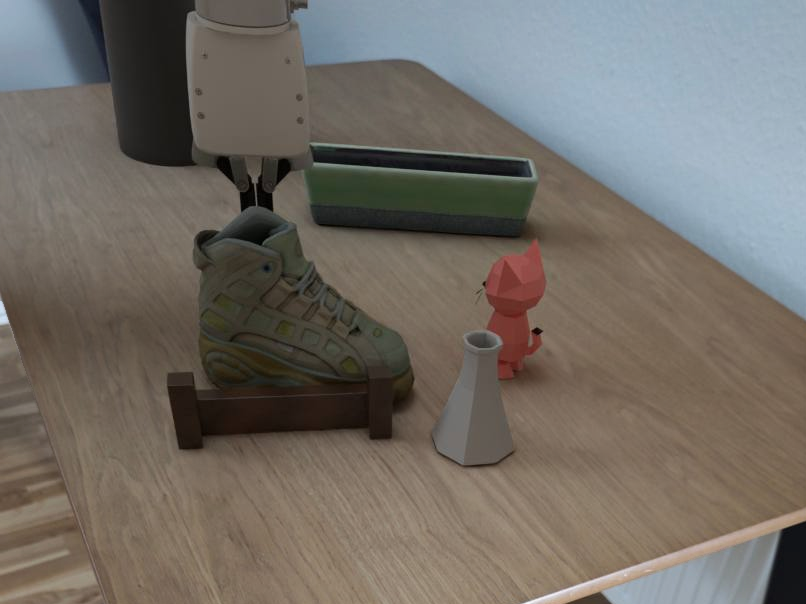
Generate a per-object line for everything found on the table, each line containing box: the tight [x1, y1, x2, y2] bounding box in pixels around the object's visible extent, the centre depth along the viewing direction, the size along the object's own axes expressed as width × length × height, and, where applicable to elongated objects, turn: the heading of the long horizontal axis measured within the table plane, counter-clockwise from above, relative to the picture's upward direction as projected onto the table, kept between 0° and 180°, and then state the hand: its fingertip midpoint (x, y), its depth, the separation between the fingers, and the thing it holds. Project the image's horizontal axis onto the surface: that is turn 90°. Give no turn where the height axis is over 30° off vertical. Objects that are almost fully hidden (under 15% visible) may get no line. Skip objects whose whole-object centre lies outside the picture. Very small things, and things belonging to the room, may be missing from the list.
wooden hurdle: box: [166, 365, 393, 450], centre depth 75 cm, size 18×3×6 cm, turn 102°
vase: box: [98, 0, 198, 167], centre depth 108 cm, size 14×14×29 cm
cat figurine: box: [474, 237, 547, 380], centre depth 83 cm, size 7×7×12 cm
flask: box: [430, 329, 516, 466], centre depth 75 cm, size 7×7×10 cm
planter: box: [300, 141, 539, 237], centre depth 107 cm, size 28×7×7 cm, turn 93°
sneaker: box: [191, 205, 416, 404], centre depth 78 cm, size 11×19×15 cm, turn 69°
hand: (258, 229), depth 85 cm, fingers closed
